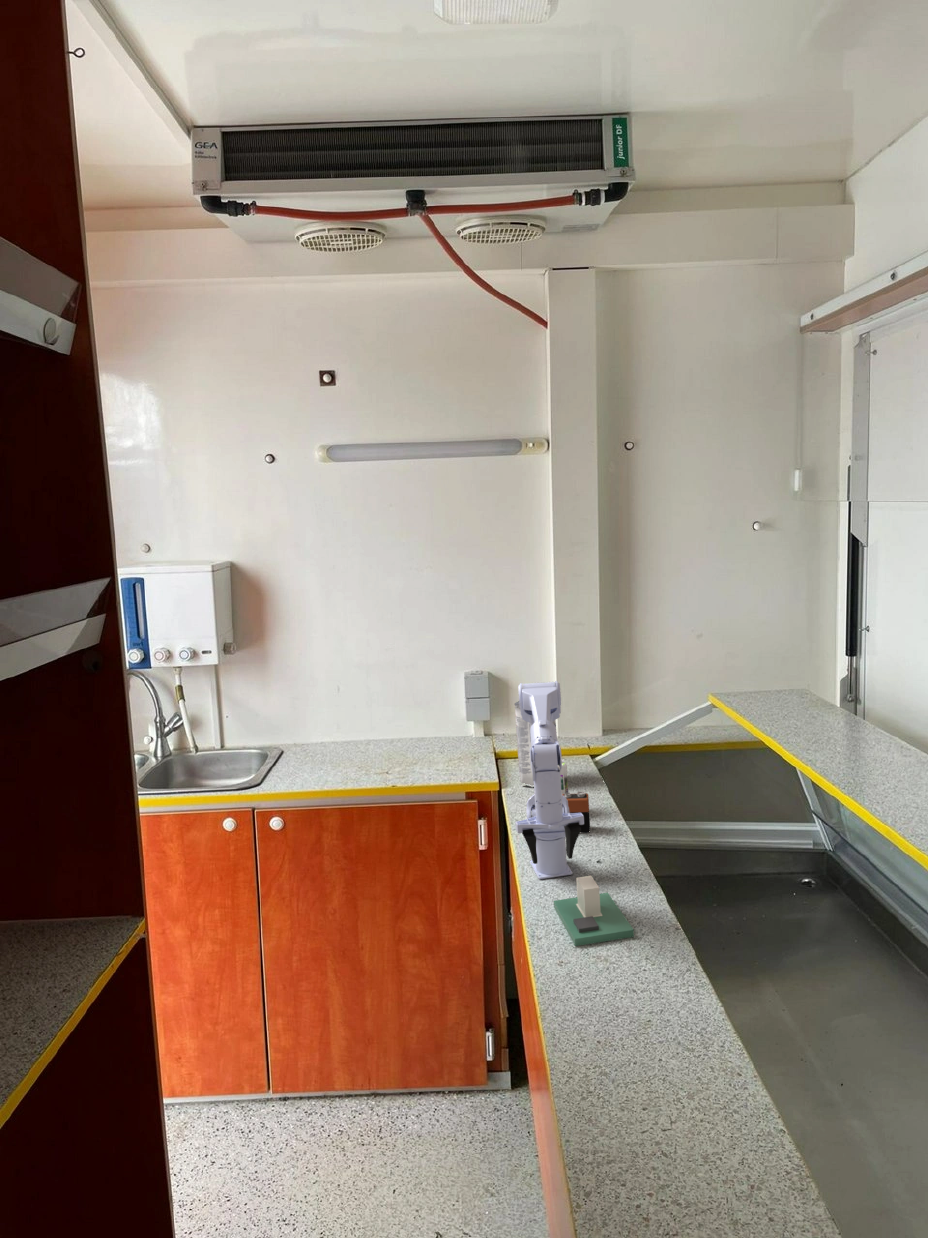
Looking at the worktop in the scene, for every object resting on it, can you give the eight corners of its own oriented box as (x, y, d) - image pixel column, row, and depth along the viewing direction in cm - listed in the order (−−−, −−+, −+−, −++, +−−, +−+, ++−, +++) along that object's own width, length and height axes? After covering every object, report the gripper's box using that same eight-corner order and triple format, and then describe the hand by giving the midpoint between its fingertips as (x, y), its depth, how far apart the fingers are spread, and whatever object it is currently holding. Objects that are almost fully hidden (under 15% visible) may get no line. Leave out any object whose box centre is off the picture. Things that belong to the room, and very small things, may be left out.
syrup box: (549, 819, 233) (546, 767, 231) (544, 811, 239) (540, 760, 237) (570, 816, 234) (567, 764, 232) (564, 808, 240) (561, 757, 237)
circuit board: (553, 907, 187) (553, 895, 186) (608, 899, 188) (607, 887, 188) (575, 946, 171) (574, 933, 171) (634, 936, 173) (633, 924, 172)
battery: (590, 833, 223) (588, 795, 221) (563, 834, 223) (561, 796, 222) (590, 826, 227) (588, 789, 225) (563, 827, 228) (561, 790, 226)
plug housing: (575, 901, 185) (574, 874, 184) (590, 899, 186) (588, 872, 185) (585, 917, 179) (583, 889, 178) (600, 915, 179) (599, 887, 178)
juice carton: (548, 792, 253) (542, 701, 248) (516, 787, 258) (510, 698, 254) (562, 781, 260) (557, 693, 255) (531, 777, 266) (525, 690, 261)
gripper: (519, 810, 181) (523, 872, 183) (586, 801, 183) (590, 862, 185) (511, 798, 188) (516, 858, 190) (577, 789, 190) (580, 848, 192)
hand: (552, 859), depth 188 cm, fingers open, 7 cm apart
